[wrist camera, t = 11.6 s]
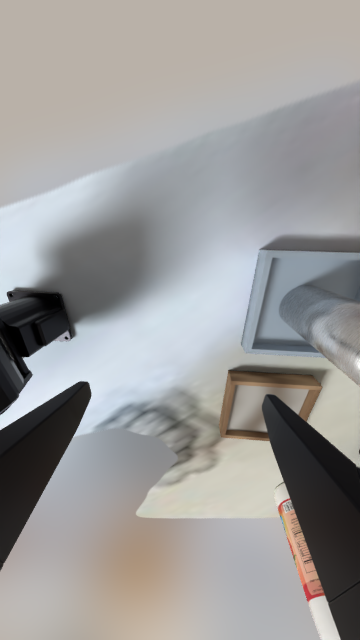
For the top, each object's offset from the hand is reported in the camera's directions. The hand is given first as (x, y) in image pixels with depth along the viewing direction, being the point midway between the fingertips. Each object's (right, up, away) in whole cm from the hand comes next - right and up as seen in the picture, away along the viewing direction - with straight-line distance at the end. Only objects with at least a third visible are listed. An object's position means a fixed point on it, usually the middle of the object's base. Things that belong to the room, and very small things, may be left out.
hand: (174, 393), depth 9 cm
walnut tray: (+12, -9, +17) cm, 23 cm away
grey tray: (+14, +5, +11) cm, 18 cm away
